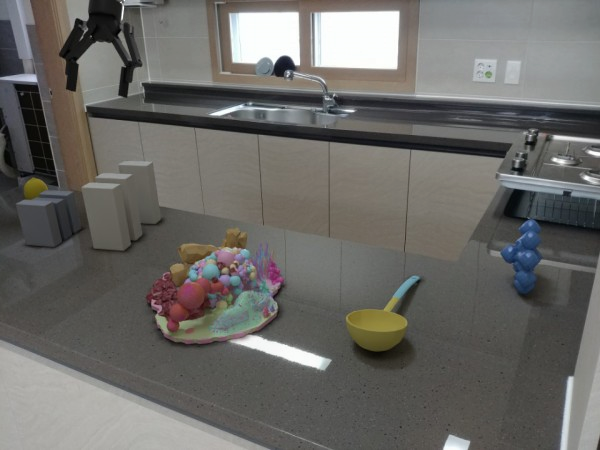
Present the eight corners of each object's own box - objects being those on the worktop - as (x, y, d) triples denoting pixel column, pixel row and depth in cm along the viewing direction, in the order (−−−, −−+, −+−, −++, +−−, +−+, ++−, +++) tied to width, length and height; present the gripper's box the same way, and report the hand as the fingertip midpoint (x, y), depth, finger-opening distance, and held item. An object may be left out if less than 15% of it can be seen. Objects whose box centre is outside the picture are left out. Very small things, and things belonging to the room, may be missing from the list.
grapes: (496, 268, 99) (504, 207, 94) (536, 272, 97) (546, 211, 92) (495, 299, 89) (503, 233, 84) (539, 305, 87) (550, 238, 82)
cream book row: (113, 233, 119) (102, 172, 114) (142, 235, 118) (132, 174, 112) (93, 248, 112) (80, 185, 107) (123, 250, 111) (112, 186, 105)
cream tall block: (134, 217, 127) (124, 160, 122) (161, 219, 126) (153, 161, 120) (127, 222, 125) (117, 164, 119) (155, 224, 123) (146, 165, 118)
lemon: (26, 207, 136) (19, 177, 133) (49, 202, 139) (42, 172, 135) (30, 213, 132) (22, 183, 128) (53, 208, 134) (47, 178, 131)
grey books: (54, 226, 124) (45, 188, 120) (81, 228, 122) (73, 189, 118) (26, 244, 115) (15, 203, 111) (54, 247, 113) (44, 205, 110)
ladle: (334, 353, 76) (336, 314, 75) (391, 301, 99) (393, 271, 98) (395, 367, 72) (398, 326, 71) (438, 310, 95) (441, 278, 94)
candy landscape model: (133, 285, 97) (125, 239, 93) (251, 254, 107) (248, 211, 104) (175, 359, 77) (167, 304, 73) (316, 312, 87) (315, 261, 84)
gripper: (164, 9, 124) (153, 102, 125) (69, 2, 129) (60, 91, 130) (148, -3, 116) (136, 96, 118) (48, -10, 122) (38, 84, 123)
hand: (96, 93), depth 124 cm, fingers open, 13 cm apart
